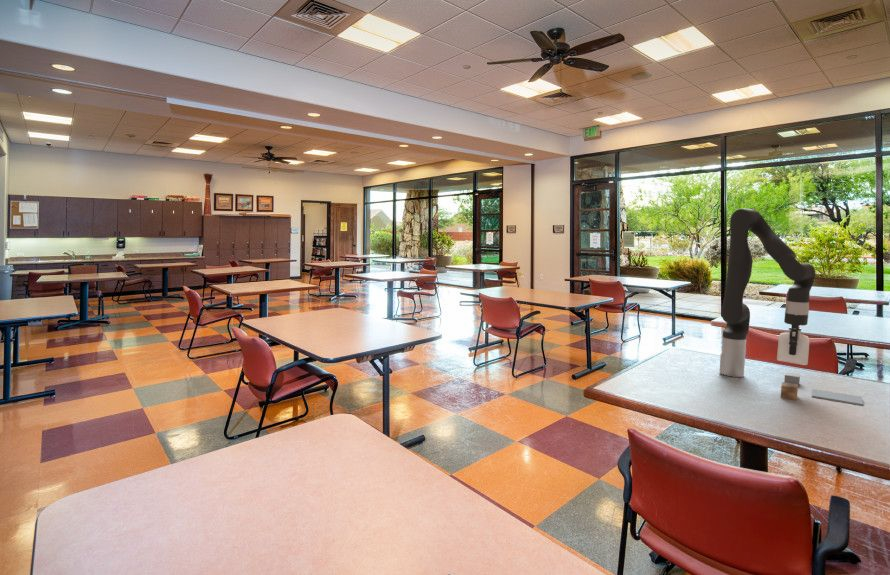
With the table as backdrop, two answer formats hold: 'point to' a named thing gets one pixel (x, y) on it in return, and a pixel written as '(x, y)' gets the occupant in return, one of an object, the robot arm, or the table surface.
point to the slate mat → (837, 397)
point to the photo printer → (801, 349)
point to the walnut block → (789, 391)
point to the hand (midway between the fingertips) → (792, 353)
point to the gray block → (792, 378)
